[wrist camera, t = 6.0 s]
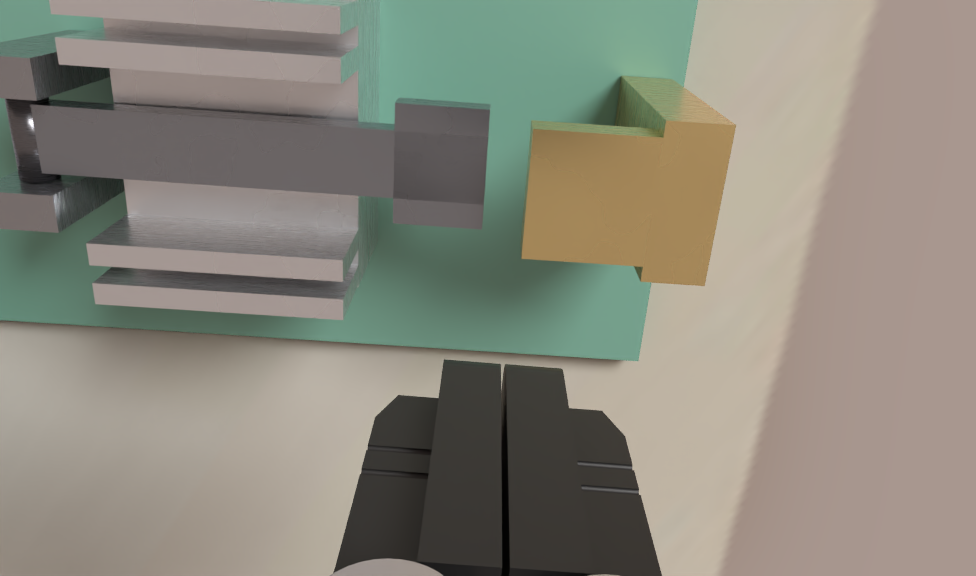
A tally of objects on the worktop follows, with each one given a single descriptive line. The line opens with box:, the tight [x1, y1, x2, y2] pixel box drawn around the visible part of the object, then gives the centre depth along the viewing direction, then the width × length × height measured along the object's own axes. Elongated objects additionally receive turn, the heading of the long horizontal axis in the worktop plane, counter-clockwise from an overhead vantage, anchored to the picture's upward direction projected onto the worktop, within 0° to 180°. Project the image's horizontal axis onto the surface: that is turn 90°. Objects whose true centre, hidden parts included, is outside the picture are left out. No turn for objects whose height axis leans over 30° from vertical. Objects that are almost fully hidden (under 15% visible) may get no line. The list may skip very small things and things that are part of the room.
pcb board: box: [0, 0, 698, 361], centre depth 25 cm, size 16×24×1 cm, turn 86°
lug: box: [520, 76, 736, 286], centre depth 21 cm, size 4×5×7 cm
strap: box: [5, 97, 491, 230], centre depth 20 cm, size 3×12×1 cm, turn 86°
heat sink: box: [0, 0, 380, 320], centre depth 22 cm, size 8×10×6 cm
